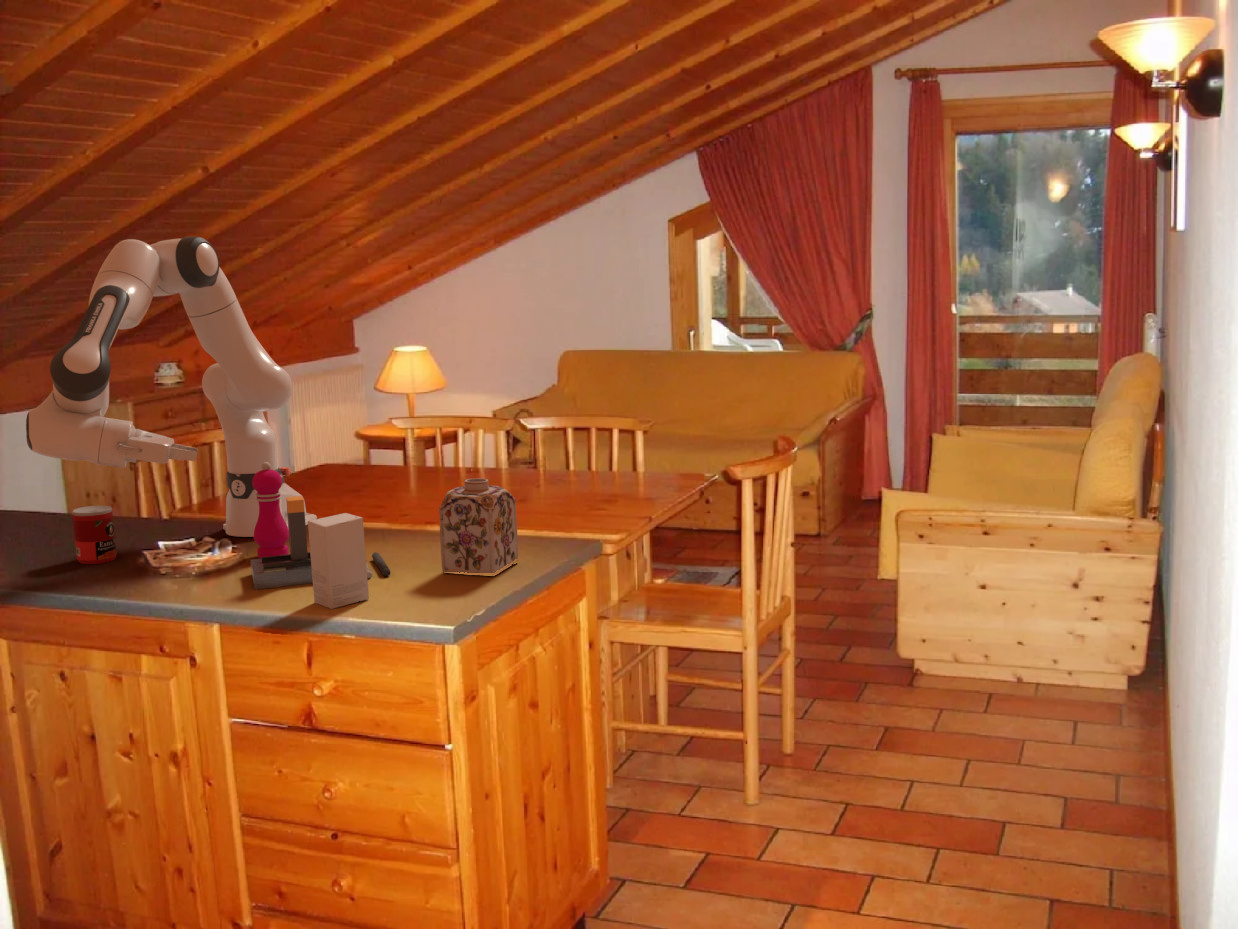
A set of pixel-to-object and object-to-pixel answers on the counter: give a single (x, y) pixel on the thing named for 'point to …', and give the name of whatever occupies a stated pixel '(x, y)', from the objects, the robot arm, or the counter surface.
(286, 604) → the counter surface
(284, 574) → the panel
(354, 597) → the skincare box
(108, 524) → the canned food
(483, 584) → the counter surface
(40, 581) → the counter surface
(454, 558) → the decorative jar
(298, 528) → the lever
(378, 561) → the dark grey capsule
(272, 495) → the pepper mill
